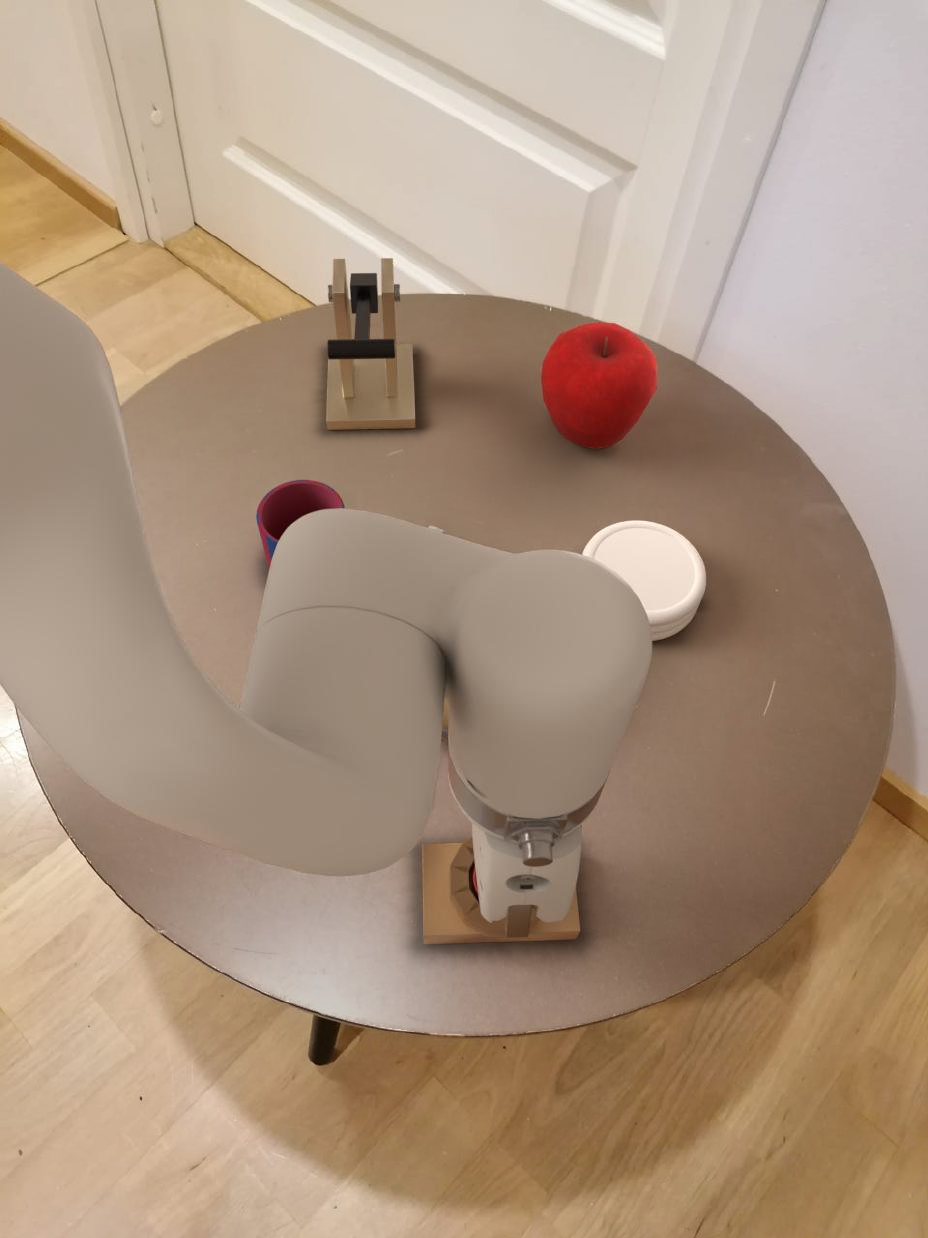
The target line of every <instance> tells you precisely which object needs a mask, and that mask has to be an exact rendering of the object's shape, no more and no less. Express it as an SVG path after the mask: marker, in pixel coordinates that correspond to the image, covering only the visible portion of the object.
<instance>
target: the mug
mask: <svg viewBox="0 0 928 1238" xmlns="http://www.w3.org/2000/svg"><path fill="white" fill-rule="evenodd" d="M336 508H345V503H344V501H343V498H342V497H341V495H340V494H339V493H338V492H337V491H336V490H335V489H334V488H332V487H331V486H329V485H328V484H325V483H324V482H320V481H317V480H312V479H296V480H291V481H286V482H284V483H281V484H279V485H277V486H275V487H274V488H272V489H270V490H269V491H268V492H267V493H266V494H265V495H264V496H263V498H261V501H260V502H259V504H258V507H257V510H256V516H255V517H256V524H257V528H258V532H259V536H260V540H261V544H262V548H263V553H264V557H265V559H266V563H267V567H268V570H269V569H270V565H271V561H272V557H273V554H274V552H275V549H276V546H277V543H278V541H279V540H280V538H281V536H282V535H283V533H284V532H285V531H286V529H287V528H288V527H289V526H290V525H291V524H292V523H294V522H295V521H296V520H298V519H299V518H301V517H302V516H304V515H306V514H309V513H312V512H315V511H319V510H324V509H336ZM345 509H346V508H345Z"/></svg>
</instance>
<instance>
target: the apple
mask: <svg viewBox="0 0 928 1238" xmlns="http://www.w3.org/2000/svg"><path fill="white" fill-rule="evenodd" d="M657 363H658V361H657V357H656V355H655V354H654V352H653V351H652V350H651V348H650V347H649V345H648V344H646V342H644V341H643V340H642V339H641V338H639V337H638V336H637V335H636V334H635V333H633V332H632V331H631V330H630V329H628V328H626V327H624V326H622V325H620V324H617V323H615V322H605V321H603V322H602V321H599V322H589V323H584V324H583V323H582V324H581V325H578V326H574V327H572V328H570V329H568V330H566V331H563V332H561V333H559V334H558V335H557V337H556V338H555V340H554V341H553V343H552V344H551V345H550V347H549V349H548V351H547V353H546V355H545V357H544V358H543V360H542V366H541V375H540V381H541V391H542V401H543V403H544V405H545V408H546V411H547V413H548V415H549V418H550V419H551V422H552V424H553V425H554V427H555V428H556V430H557V432H558V433H560V435H562V436H563V437H564V438H565V439H566V440H567V441H569V442H571V443H573V444H575V445H578V446H579V447H584V448H590V449H596V450H598V449H604V448H608V447H609V448H610V447H612V446H614V445H615V444H617V443H619V442H620V441H622V440H624V438H625V437H626V436H627V435H628V434H629V432H630V431H631V430H632V429H633V428H634V426H635V425H636V424H637V423H638V422H639V420H640V418H641V417H642V415H643V413H644V411H645V410H646V408H647V406H648V405H649V403H650V401H651V400H652V398H653V396H654V395H655V393H656V391H657V389H658V364H657Z"/></svg>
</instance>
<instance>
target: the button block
mask: <svg viewBox="0 0 928 1238" xmlns="http://www.w3.org/2000/svg"><path fill="white" fill-rule="evenodd" d="M421 863H422V865H421V866H422V871H421V873H422V927H423V928H422V929H423V930H422V931H423V932H422V933H423V934H422V935H423V945H441V944H442V945H443V944H473V943H502V942H503V943H504V942H509V943H510V942H535V941H536V942H539V941H540V942H541V941H566V940H569V941H570V940H577V938H578V936H579V934H580V932H581V923H580V922H581V921H580V914H579V913H580V912H579V904H578V894H577V886H576V887H575V891H574V895H573V899H572V902H571V906H570V909H569V912H568V914H567V915H566V917H565V918H564V919H563V920H562V921H555V922H543V921H542V920H540V919H539V918H538V917H537V916H536V911H537V907H538V906H533V905H532V910H531V918H530V926H529V934H528V938H506V935H505V923H504V918H503V919H501V920H499V921H492V923H490V922H489V921H487V920H486V919H485V918H484V917H483V916H482V914H481V910H480V903H479V902H478V901H477V899H476V898H475V896H474V893H473V889H472V880H473V872H474V868H475V860H474V849H473V838H472V836H471V837H469V838H468V839H466V840H465V841H463V842H447V843H446V842H445V843H443V842H442V843H422V844H421Z"/></svg>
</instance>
